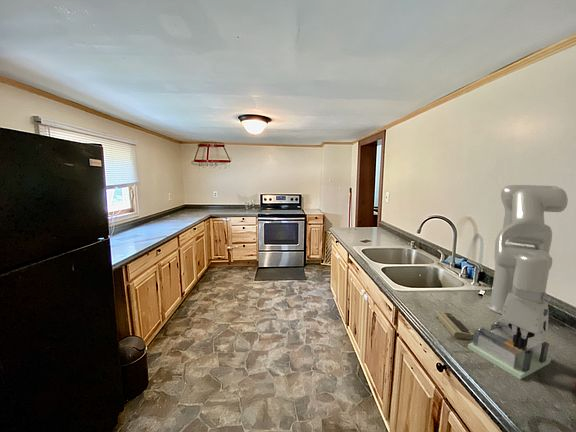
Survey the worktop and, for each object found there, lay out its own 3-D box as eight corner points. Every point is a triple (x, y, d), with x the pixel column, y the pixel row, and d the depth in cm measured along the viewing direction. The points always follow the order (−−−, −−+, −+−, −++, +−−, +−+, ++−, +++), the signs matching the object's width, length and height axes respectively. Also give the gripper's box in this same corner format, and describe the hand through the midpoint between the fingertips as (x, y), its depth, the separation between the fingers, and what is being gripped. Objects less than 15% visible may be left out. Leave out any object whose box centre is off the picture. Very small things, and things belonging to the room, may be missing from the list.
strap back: (498, 324, 99) (497, 321, 99) (543, 332, 86) (542, 328, 86) (494, 326, 98) (493, 323, 98) (539, 334, 85) (538, 330, 85)
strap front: (481, 330, 95) (481, 327, 95) (527, 350, 82) (527, 346, 82) (477, 331, 94) (477, 328, 94) (522, 352, 81) (523, 349, 81)
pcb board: (496, 335, 102) (497, 332, 101) (550, 363, 87) (551, 359, 87) (467, 347, 95) (468, 344, 94) (520, 379, 80) (520, 375, 80)
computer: (475, 340, 100) (476, 332, 99) (453, 339, 100) (454, 331, 100) (453, 317, 115) (454, 311, 115) (434, 316, 116) (435, 310, 115)
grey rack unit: (497, 334, 100) (500, 318, 99) (549, 359, 87) (552, 342, 86) (471, 344, 94) (473, 328, 93) (522, 374, 80) (525, 355, 79)
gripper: (566, 301, 75) (556, 358, 78) (506, 282, 88) (499, 331, 91) (553, 306, 72) (543, 365, 75) (493, 285, 85) (486, 336, 88)
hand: (519, 346), depth 83 cm, fingers closed
